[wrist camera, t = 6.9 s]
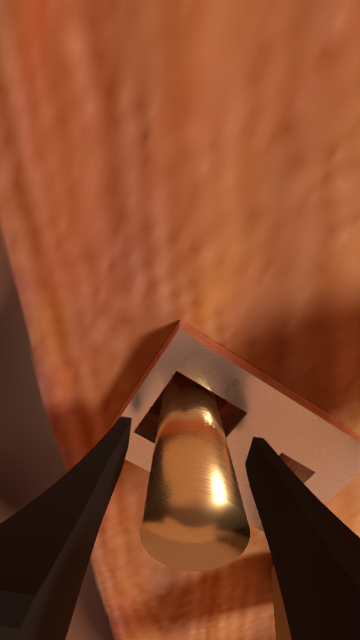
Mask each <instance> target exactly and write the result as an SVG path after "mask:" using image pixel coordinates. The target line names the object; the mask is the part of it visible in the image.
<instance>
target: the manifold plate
mask: <svg viewBox="0 0 360 640" xmlns="http://www.w3.org/2000/svg"><path fill="white" fill-rule="evenodd" d="M176 371H178V372H180V373H181V374H183V375H185V376H186V377H188V378H190V379H192V380H193V381H195V382H197V383H198V384H200V385H202V386H203V387H205V388H207V389H208V390H210V391H212V392H213V393H215V394H217V395H218V396H220V397H222V398H223V399H225V400H227V403H226V404H225V405H224V406H223V407H222V409H221V410H220V411H219V414H220V418H221V422H222V425H223V429H224V433H225V437H226V441H227V444H228V448H229V452H230V456H231V460H232V464H233V467H234V471H235V475H236V479H237V483H238V486H239V490H240V494H241V498H242V502H243V505H244V509H245V513H246V517H247V521H248V524H250V525H252V526H254V527H256V528H258V529H260V530H262V531H264V529H263V526H262V523H261V520H260V517H259V514H258V511H257V508H256V505H255V501H254V498H253V495H252V492H251V489H250V485H249V481H248V477H247V472H246V467H245V462H246V459H247V456H248V452H249V449H250V446H251V442H252V439H253V437H260V438H264V439H265V440H266V441H267V442H268V444H269V445H270V446H271V447H272V448H273V449H274V451H275V452H276V453H277V454H278V455H280V454H281V453H283V454H282V455H281V456H280V457H281V459H282V460H283V461H284V462H285V463H286V464H287V466H288V467H289V468H290V469H291V470H292V471H293V472H294V473H295V475H296V476H297V477H298V478H299V479H300V480H301V481H302V482H303V483H304V484H305V485H306V487H307V488H308V489H309V490H310V491H311V492H312V493H313V494H314V495H315V496H316V497H317V498H318V499H319V500H320V501H321V502H322V503H323V504H325V503H326V502H328V501H329V500H330V499H331V498H332V497H333V496H334V495H335V494H337V493H338V492H339V491H340V490H341V489H342V488H343V487H345V486H346V485H347V484H348V483H349V482H350V481H351V480H352V479H354V478H355V477H356V476H357V475H358V474H359V473H360V436H359V435H357V434H356V433H355V432H354V431H353V430H352V429H351V428H350V427H349V426H347V425H346V424H344V423H343V422H341V421H340V420H338V419H336V418H335V417H333V416H332V415H330V414H328V413H327V412H325V411H324V410H322V409H321V408H319V407H317V406H316V405H314V404H313V403H311V402H310V401H308V400H306V399H305V398H303V397H302V396H300V395H298V394H297V393H295V392H294V391H292V390H291V389H289V388H287V387H286V386H284V385H283V384H281V383H280V382H278V381H276V380H275V379H273V378H272V377H270V376H268V375H267V374H265V373H264V372H262V371H261V370H259V369H257V368H256V367H254V366H253V365H251V364H250V363H248V362H246V361H245V360H243V359H242V358H240V357H238V356H237V355H235V354H234V353H232V352H231V351H229V350H227V349H226V348H224V347H223V346H221V345H220V344H218V343H216V342H215V341H213V340H212V339H210V338H208V337H207V336H205V335H204V334H202V333H201V332H199V331H197V330H196V329H194V328H193V327H191V326H190V325H188V324H186V323H185V322H183V321H182V320H179V322H178V323H177V325H176V326H175V328H174V329H173V331H172V332H171V334H170V335H169V337H168V338H167V340H166V341H165V343H164V344H163V346H162V348H161V349H160V351H159V352H158V354H157V355H156V357H155V358H154V360H153V361H152V363H151V364H150V366H149V367H148V369H147V370H146V372H145V373H144V375H143V376H142V378H141V379H140V381H139V382H138V384H137V385H136V387H135V388H134V390H133V391H132V393H131V394H130V396H129V397H128V399H127V400H126V402H125V403H124V405H123V406H122V408H121V409H120V411H119V412H118V414H117V415H116V417H115V418H114V420H113V422H112V424H111V426H110V428H109V430H110V429H111V428H112V427H113V425H114V424H115V423H116V422H117V420H118V419H119V418H120V417H121V416H123V417H129V418H132V421H131V430H130V438H129V446H128V450H127V453H126V457H125V460H127V461H129V462H131V463H133V464H135V465H137V466H139V467H141V468H143V469H145V470H147V471H149V472H150V470H151V464H152V458H153V452H154V446H155V440H156V434H157V428H158V422H159V416H157V415H156V414H154V413H152V412H150V411H149V409H150V408H151V406H152V405H153V404H154V402H155V401H156V399H157V398H158V396H159V395H160V394H161V392H162V391H163V389H164V388H165V387H166V385H167V384H168V382H169V381H170V379H171V378H172V377H173V375H174V374H175V372H176ZM109 430H108V431H109Z"/></svg>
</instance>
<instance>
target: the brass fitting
mask: <svg viewBox="0 0 360 640" xmlns="http://www.w3.org/2000/svg"><path fill="white" fill-rule="evenodd" d="M140 535H141V540H142V543H143V545H144V547H145V549H146V550H147V551H148V553H149V554H150V555H151V556H152V557H153V558H155V559H156V560H157V561H159V562H161V563H162V564H164V565H167V566H169V567H172V568H175V569H179V570H184V571H208V570H213V569H216V568H220V567H222V566H225V565H227V564H229V563H231V562H232V561H234V560H235V559H237V558H238V557H239V556H240V555H241V554H242V553H243V551H244V550H245V548H246V547H247V545H248V542H249V538H250V529H249V524H248V521H247V517H246V513H245V509H244V505H243V502H242V498H241V494H240V490H239V486H238V483H237V479H236V475H235V471H234V467H233V464H232V460H231V456H230V452H229V448H228V444H227V441H226V437H225V433H224V429H223V425H222V422H221V418H220V414H219V410H218V406H217V403H216V399H215V395H214V393H213V392H212V391H210V390H208V389H207V388H205V387H203V386H202V385H200V384H198V383H197V382H195V381H193V380H192V379H190V378H188V377H186V376H185V375H183V374H182V375H178V376H176V377H174V378H173V379H171V380H170V381H169V382H168V384H167V385H166V387H165V389H164V392H163V398H162V404H161V410H160V416H159V422H158V428H157V434H156V440H155V446H154V452H153V458H152V464H151V470H150V476H149V482H148V488H147V494H146V500H145V506H144V512H143V518H142V524H141V530H140Z"/></svg>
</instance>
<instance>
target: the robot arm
mask: <svg viewBox="0 0 360 640" xmlns="http://www.w3.org/2000/svg"><path fill="white" fill-rule="evenodd" d="M131 421H132V418H129V417H123V416H121V417H120V418H119V419H118V420H117V422H116V423H115V424H114V425H113V427H112V428H111V429H110V430H109V431H108V432H107V434H106V435H105V436H104V437H103V438H102V439H101V440H100V441H99V442H98V443H97V445H96V446H95V447H94V448H93V449H92V450H91V451H90V452H89V453H88V454H87V455H86V456H85V457H84V458H83V459H82V460H81V461H80V462H78V463H77V464H76V465H75V466H74V467H73V468H72V469H71V470H70V471H69V472H67V473H66V474H65V475H64V476H63V477H62V478H61V479H59V480H58V481H57V482H56V483H55V484H53V485H52V486H51V487H50V488H48V489H47V490H46V491H45V492H44V493H42V494H41V495H40V496H38V497H37V498H36V499H34V500H33V501H32V502H30V503H29V504H28V505H26V506H25V507H23V508H22V509H21V510H19V511H18V512H16V513H15V514H14V515H12V516H11V517H9V518H8V519H7V520H5V521H4V522H2V523H1V524H0V640H65V639H66V635H67V632H68V629H69V625H70V622H71V619H72V615H73V612H74V608H75V605H76V602H77V598H78V595H79V592H80V589H81V585H82V582H83V579H84V576H85V572H86V569H87V566H88V563H89V559H90V556H91V553H92V550H93V547H94V543H95V540H96V537H97V534H98V531H99V528H100V525H101V522H102V519H103V517H104V514H105V511H106V509H107V506H108V504H109V501H110V498H111V496H112V493H113V491H114V488H115V486H116V483H117V480H118V478H119V475H120V472H121V470H122V467H123V464H124V460H125V457H126V453H127V450H128V446H129V438H130V430H131ZM245 467H246V472H247V477H248V481H249V485H250V489H251V492H252V495H253V498H254V501H255V505H256V508H257V511H258V514H259V517H260V520H261V523H262V526H263V529H264V532H265V535H266V538H267V541H268V545H269V548H270V552H271V555H272V559H273V563H274V567H275V571H276V575H277V579H278V583H279V587H280V591H281V595H282V599H283V604H284V608H285V612H286V616H287V621H288V625H289V630H290V634H291V639H292V640H360V538H359V537H358V536H357V535H356V534H355V533H354V532H353V531H351V530H350V529H349V528H348V527H347V526H346V525H345V524H344V523H343V522H342V521H341V520H340V519H339V518H337V517H336V516H335V515H334V514H333V513H332V512H331V511H330V510H329V509H328V508H327V507H326V506H325V505H324V504H323V503H322V502H321V501H320V500H319V499H318V498H317V497H316V496H315V495H314V494H313V493H312V492H311V491H310V490H309V489H308V488H307V487H306V485H305V484H304V483H303V482H302V481H301V480H300V479H299V478H298V477H297V476H296V475H295V473H294V472H293V471H292V470H291V469H290V468H289V467H288V466H287V464H286V463H285V462H284V461H283V460H282V459H281V457H280V456H279V455H278V454H277V453H276V452H275V451H274V449H273V448H272V447H271V446H270V445H269V444H268V442H267V441H266V440H265V439H264V438H260V437H253V439H252V442H251V446H250V449H249V452H248V456H247V459H246V462H245Z"/></svg>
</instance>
